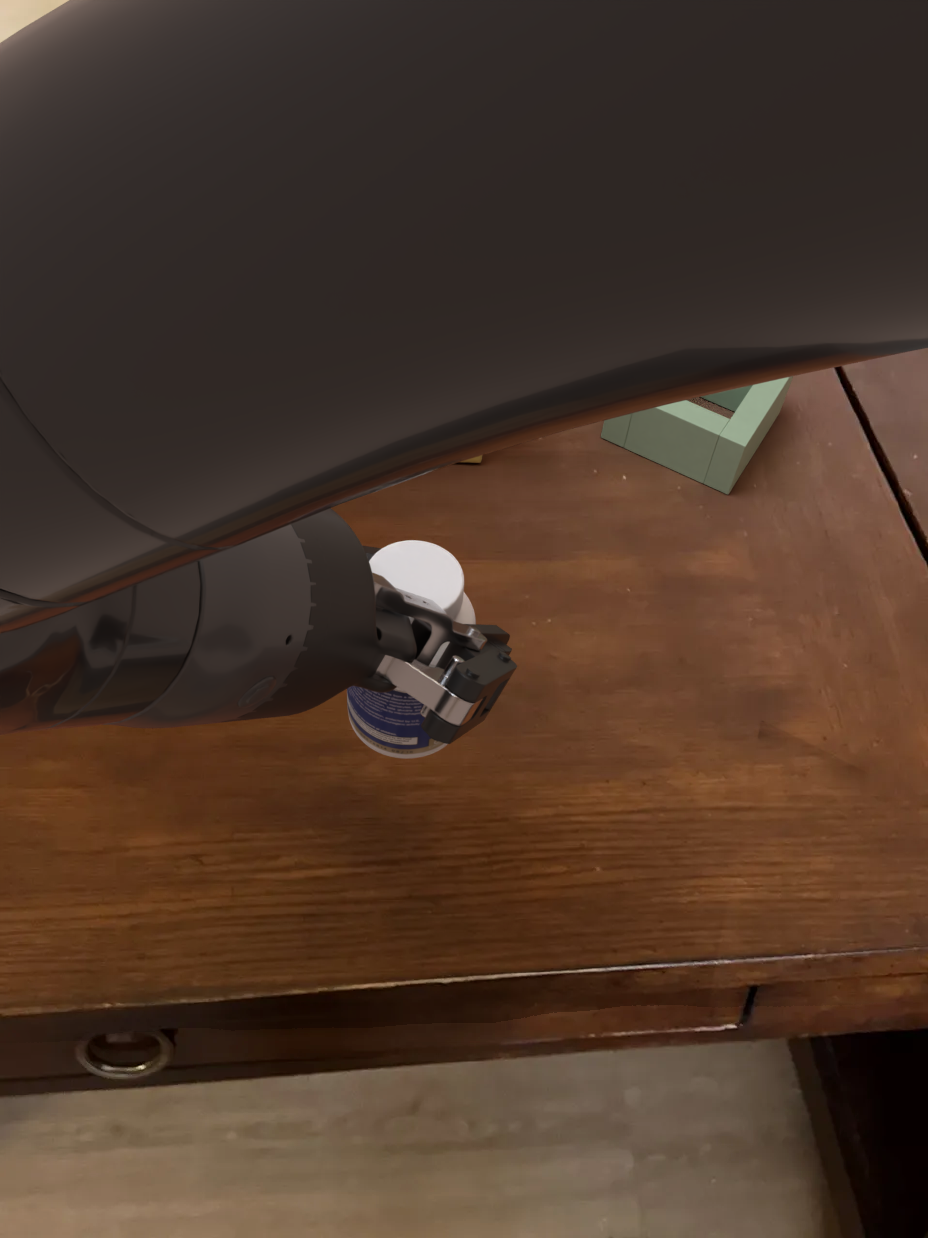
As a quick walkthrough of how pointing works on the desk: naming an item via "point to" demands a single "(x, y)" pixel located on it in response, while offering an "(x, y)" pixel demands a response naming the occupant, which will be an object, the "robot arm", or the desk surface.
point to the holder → (703, 433)
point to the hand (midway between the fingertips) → (437, 612)
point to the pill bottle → (428, 574)
